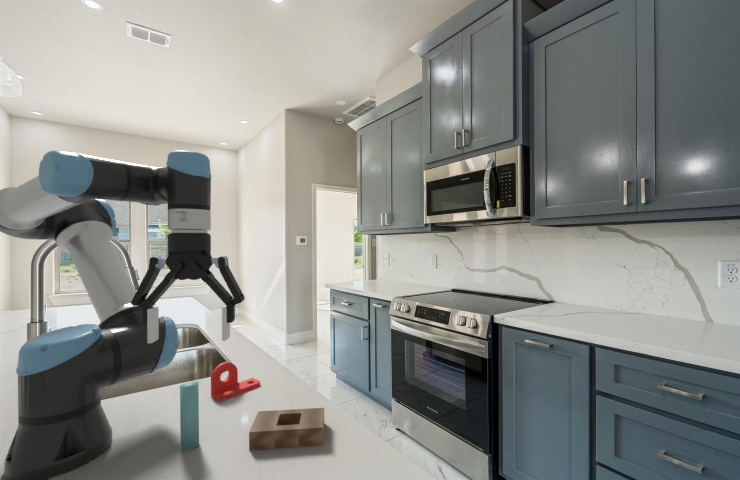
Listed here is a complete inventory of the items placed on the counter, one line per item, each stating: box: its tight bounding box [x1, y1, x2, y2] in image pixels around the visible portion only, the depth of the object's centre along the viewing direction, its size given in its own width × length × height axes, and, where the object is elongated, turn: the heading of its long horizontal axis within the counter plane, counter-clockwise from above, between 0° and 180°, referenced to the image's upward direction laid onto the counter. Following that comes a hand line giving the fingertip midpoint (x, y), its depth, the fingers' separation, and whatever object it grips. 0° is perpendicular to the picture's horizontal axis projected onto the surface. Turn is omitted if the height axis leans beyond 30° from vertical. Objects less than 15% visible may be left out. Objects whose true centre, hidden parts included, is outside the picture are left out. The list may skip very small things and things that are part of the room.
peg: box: [179, 380, 200, 452], centre depth 68 cm, size 3×3×12 cm
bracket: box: [210, 361, 261, 402], centre depth 92 cm, size 12×4×8 cm, turn 141°
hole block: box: [248, 407, 325, 451], centre depth 71 cm, size 14×8×4 cm, turn 96°
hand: (190, 340), depth 68 cm, fingers open, 13 cm apart
